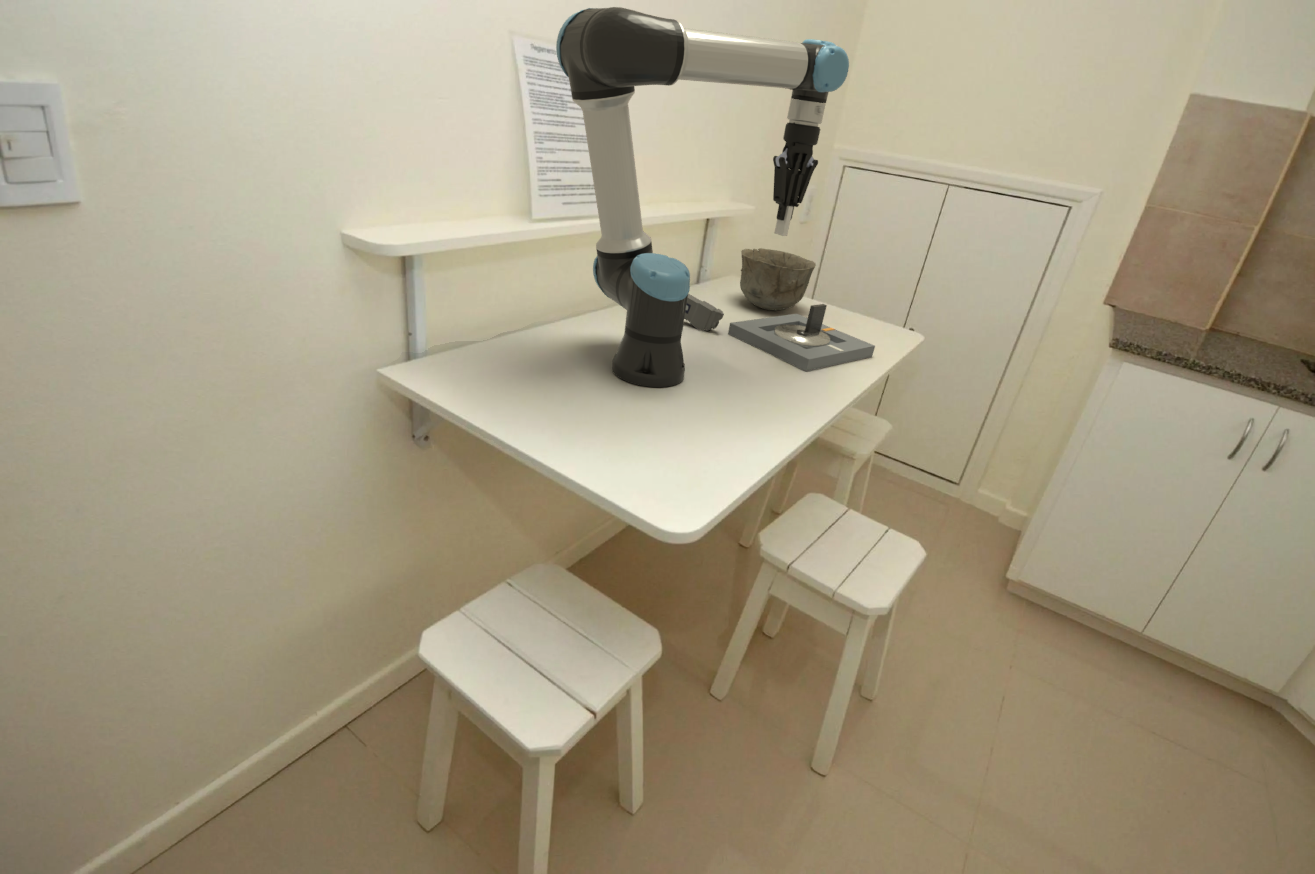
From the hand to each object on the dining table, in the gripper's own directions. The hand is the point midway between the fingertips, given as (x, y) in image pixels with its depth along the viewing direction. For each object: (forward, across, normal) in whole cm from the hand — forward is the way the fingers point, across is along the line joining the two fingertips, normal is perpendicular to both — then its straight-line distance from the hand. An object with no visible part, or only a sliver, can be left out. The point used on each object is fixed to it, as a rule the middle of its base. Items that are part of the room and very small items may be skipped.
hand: (780, 234), depth 153 cm
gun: (+27, -11, +21) cm, 36 cm away
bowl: (+27, +26, +21) cm, 43 cm away
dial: (+25, +9, -6) cm, 27 cm away
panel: (+26, +9, -6) cm, 29 cm away
